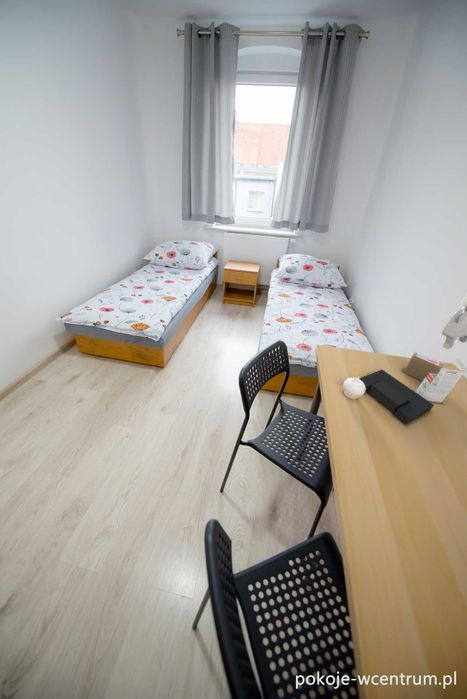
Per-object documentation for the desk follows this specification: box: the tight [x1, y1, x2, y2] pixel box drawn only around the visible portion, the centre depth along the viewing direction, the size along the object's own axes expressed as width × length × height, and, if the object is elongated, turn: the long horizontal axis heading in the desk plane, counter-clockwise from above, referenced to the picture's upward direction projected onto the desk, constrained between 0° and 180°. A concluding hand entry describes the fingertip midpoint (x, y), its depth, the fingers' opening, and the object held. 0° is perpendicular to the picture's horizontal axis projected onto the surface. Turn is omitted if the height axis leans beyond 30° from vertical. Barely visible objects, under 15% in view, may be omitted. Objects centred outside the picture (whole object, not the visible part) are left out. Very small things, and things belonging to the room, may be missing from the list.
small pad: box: [367, 381, 409, 414], centre depth 94 cm, size 10×6×4 cm, turn 30°
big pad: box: [359, 369, 435, 426], centre depth 96 cm, size 20×14×3 cm
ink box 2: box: [415, 367, 465, 404], centre depth 94 cm, size 4×8×15 cm, turn 85°
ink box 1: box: [403, 352, 444, 382], centre depth 106 cm, size 10×4×8 cm, turn 48°
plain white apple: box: [342, 375, 366, 400], centre depth 93 cm, size 7×7×8 cm
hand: (454, 344), depth 83 cm, fingers open, 8 cm apart
